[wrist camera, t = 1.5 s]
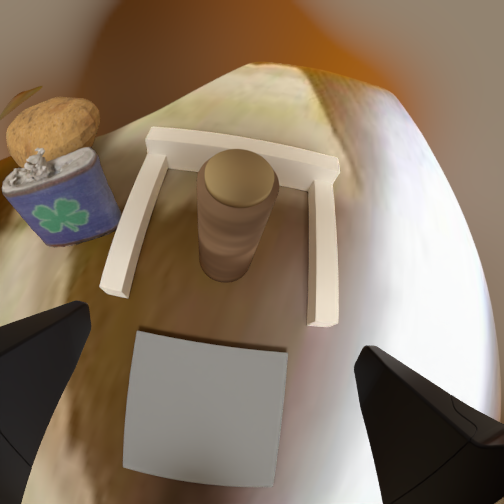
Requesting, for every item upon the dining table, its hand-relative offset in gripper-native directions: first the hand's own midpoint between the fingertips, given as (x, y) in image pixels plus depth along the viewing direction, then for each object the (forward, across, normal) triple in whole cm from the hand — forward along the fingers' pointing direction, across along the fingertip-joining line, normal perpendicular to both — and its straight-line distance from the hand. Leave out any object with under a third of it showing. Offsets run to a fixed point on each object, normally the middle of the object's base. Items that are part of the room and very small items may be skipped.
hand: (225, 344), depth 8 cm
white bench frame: (+18, 0, +1) cm, 18 cm away
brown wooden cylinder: (+16, 0, +3) cm, 16 cm away
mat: (+6, 0, +13) cm, 14 cm away
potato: (+22, +23, -3) cm, 32 cm away
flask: (+16, +15, +3) cm, 22 cm away
